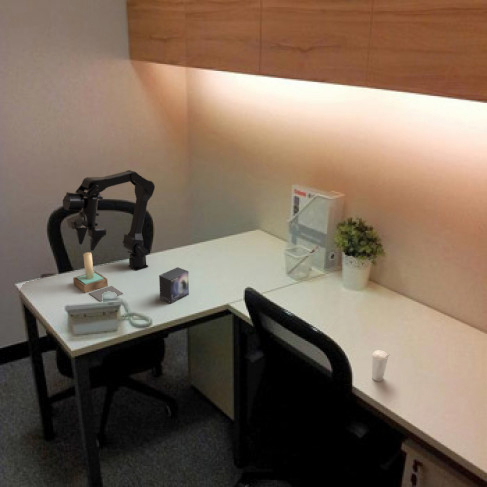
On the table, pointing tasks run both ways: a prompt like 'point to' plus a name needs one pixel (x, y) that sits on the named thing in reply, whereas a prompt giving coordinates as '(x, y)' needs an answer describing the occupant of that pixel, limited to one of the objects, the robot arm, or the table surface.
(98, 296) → the mat
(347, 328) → the table surface
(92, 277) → the lid
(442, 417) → the table surface
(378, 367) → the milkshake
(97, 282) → the walnut box
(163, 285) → the small box
